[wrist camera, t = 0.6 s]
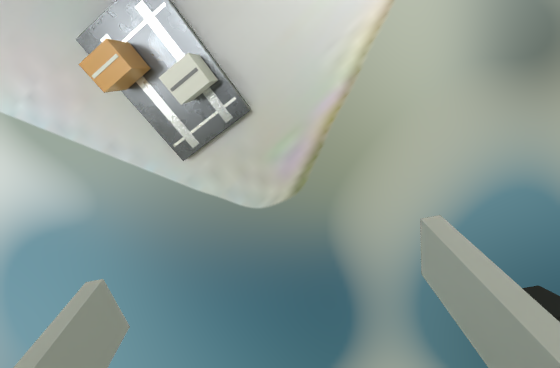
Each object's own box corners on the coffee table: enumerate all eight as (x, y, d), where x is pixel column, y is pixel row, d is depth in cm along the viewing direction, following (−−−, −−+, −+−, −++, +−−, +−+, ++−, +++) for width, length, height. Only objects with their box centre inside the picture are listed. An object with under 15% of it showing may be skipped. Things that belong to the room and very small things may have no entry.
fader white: (173, 76, 31) (158, 77, 27) (199, 55, 30) (187, 52, 26) (193, 100, 32) (180, 105, 28) (218, 80, 31) (209, 81, 27)
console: (84, 40, 31) (75, 39, 30) (152, -24, 29) (145, -30, 28) (186, 157, 36) (183, 161, 34) (250, 108, 34) (249, 110, 32)
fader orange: (105, 65, 30) (77, 64, 26) (129, 42, 30) (105, 38, 25) (126, 89, 31) (103, 92, 27) (150, 68, 30) (131, 68, 26)
